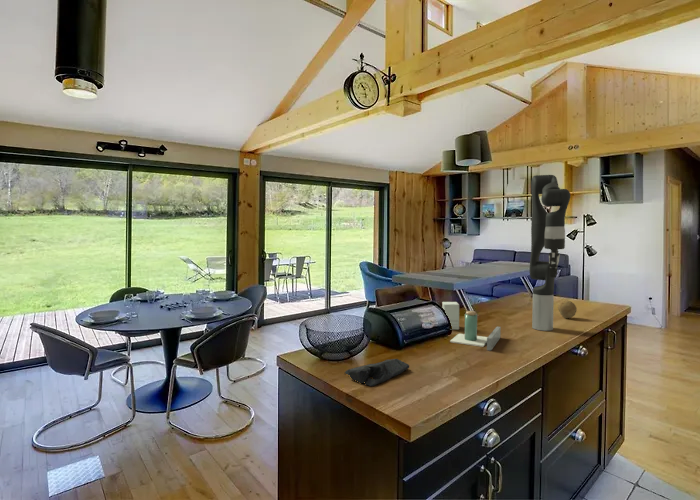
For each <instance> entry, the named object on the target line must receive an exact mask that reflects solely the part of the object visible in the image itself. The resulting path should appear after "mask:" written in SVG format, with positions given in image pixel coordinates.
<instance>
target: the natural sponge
mask: <svg viewBox="0 0 700 500" xmlns="http://www.w3.org/2000/svg"><path fill="white" fill-rule="evenodd" d="M557 306H558V307H557V309H558V312H559V314H560V315H561V317H563V319H566V318H569V319H571V318H572V317H575V315H576V313H577V312H578V311H577V310H578V309H577V305H576V304H575V303H574V302H573V301H570V300H567V299H566V300H562V301H561V302H559V304H558V305H557Z"/></svg>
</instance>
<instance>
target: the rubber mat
mask: <svg viewBox="0 0 700 500" xmlns="http://www.w3.org/2000/svg"><path fill="white" fill-rule="evenodd" d="M487 337H488V336H482V335H477V340H475V341H469V340H465V333H457V334H456V335H455V336H454V337H453V338H452V339H450V340H449V342H450V343H452V344H453V343H454V344H461V345H468V346H475V347H480V348H481V347H482V348H483V347H484V346H486V345H487Z"/></svg>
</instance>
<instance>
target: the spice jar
mask: <svg viewBox="0 0 700 500" xmlns="http://www.w3.org/2000/svg"><path fill="white" fill-rule="evenodd" d="M464 334H465V340H469V341H475V340H477V336H478V314H477V312H476V311H475V310H466V311H465V314H464Z"/></svg>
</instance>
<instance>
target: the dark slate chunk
mask: <svg viewBox="0 0 700 500" xmlns="http://www.w3.org/2000/svg"><path fill="white" fill-rule="evenodd" d="M409 368H410V365H409V363H406V362H404V361H402V360H400V359H398V358H391V359H385V360H384V361H380V362H377V363H369V364H366V365H361V366H356V367H353V368H349V369H346V370H345V371H344V374H345V373H346V374H348V375H350V377H351V378H352V379H353V380H356V381H358V382H360V383H364V382H365V384H366V385H365V386H369V387H375V386H377V385H378V384H381V383H385V382H387V381H389V380H390V379H392V378H394V377H397V376H398V375H401V374H402V373H403V372H405V371H406V370H409ZM370 377H372V378H373V379H372V378H370ZM353 380H352V381H353Z"/></svg>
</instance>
